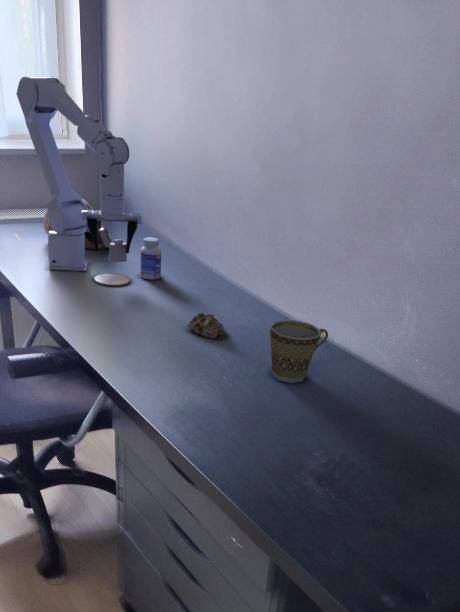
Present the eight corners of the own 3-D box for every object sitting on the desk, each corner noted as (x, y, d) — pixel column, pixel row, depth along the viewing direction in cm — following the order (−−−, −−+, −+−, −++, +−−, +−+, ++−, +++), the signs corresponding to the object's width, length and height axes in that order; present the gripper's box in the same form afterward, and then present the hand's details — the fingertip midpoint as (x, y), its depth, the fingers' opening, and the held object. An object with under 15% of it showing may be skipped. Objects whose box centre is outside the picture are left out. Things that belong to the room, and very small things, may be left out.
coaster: (93, 285, 180) (93, 283, 180) (95, 274, 187) (95, 272, 187) (129, 287, 181) (129, 285, 181) (129, 276, 189) (129, 274, 188)
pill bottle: (159, 280, 188) (160, 242, 182) (139, 278, 188) (139, 240, 182) (161, 274, 192) (162, 237, 187) (141, 272, 192) (142, 235, 187)
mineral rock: (179, 315, 161) (209, 303, 163) (182, 332, 164) (212, 320, 166) (202, 334, 154) (233, 320, 156) (205, 351, 157) (236, 338, 159)
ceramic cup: (280, 389, 139) (287, 340, 134) (255, 369, 146) (261, 322, 141) (334, 381, 145) (343, 334, 139) (308, 362, 152) (315, 316, 146)
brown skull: (119, 245, 211) (114, 197, 202) (70, 259, 201) (62, 210, 193) (88, 234, 220) (82, 188, 211) (40, 247, 210) (31, 199, 202)
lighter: (124, 259, 184) (124, 227, 179) (126, 261, 182) (126, 229, 178) (97, 260, 181) (97, 227, 176) (99, 262, 180) (99, 229, 175)
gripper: (80, 195, 168) (82, 253, 176) (142, 199, 170) (141, 257, 178) (82, 188, 174) (83, 246, 182) (141, 193, 176) (140, 249, 184)
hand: (112, 251), depth 180 cm, fingers closed on lighter, 7 cm apart
